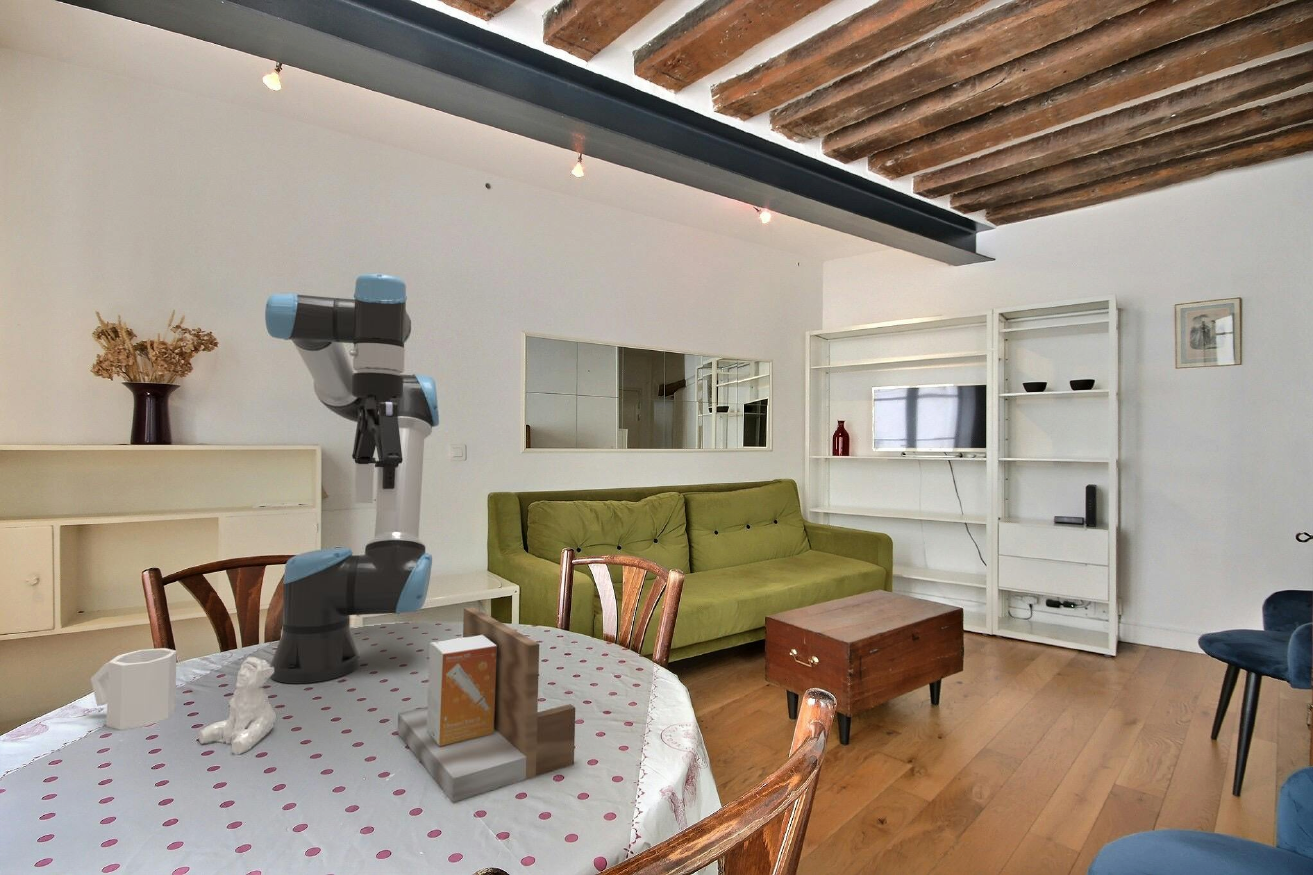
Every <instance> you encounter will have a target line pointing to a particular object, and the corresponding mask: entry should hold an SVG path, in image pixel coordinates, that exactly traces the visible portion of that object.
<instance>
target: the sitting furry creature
mask: <svg viewBox="0 0 1313 875" xmlns="http://www.w3.org/2000/svg"><path fill="white" fill-rule="evenodd" d="M273 673H274V667H271V663H268V662H267V660H266V659H262V658H258V657H257V656H255V657H253V656H249V657H247V658H246V659H245V660H244V661H243V662H242V664H241V665H240V669H239V670H238V671H237V677H236V684H235V687H236V689H235V691H234V693H233V696H232V698H231V699H230V700H229V702H228V705H229V710H230V711H229V716H228V718H227V719H224V720H221V721H217V722H213V723H211V724H208V726H206V727H204V728H202V729H201V730H199V732H198V738H199V739H198V740H199V742H200V744H201V745H205V744H207V745H208V744H211V743H215V742H216V743H222V744H226V745H229V744H230V745H231V751H232V753H233V754H234V755H235V756H236V755H241V754H244V753H246V752H248V751H250V750H252V748H253V747H254V746H255V745H257V743H260V742H261V740H262V739H263V738H265V736H267V735H268V734H269V733H270V731H271V729H273V727H274V723H275V722H276V718H277V717H276V716H277V714H276V713H275V711H274V708H273V707H272V705H271V703H270V702H269V699H268V698H269V694H267V692H266V690H265V688H264V687H262V686H263V685H264V684H265V683H266V682H267V680H268V679H269V678H271V675H272V674H273Z"/></svg>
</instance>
